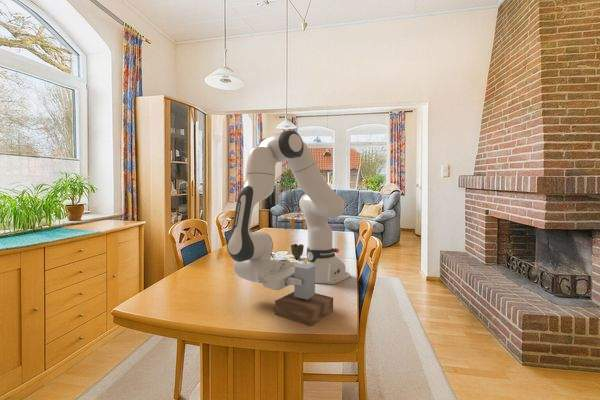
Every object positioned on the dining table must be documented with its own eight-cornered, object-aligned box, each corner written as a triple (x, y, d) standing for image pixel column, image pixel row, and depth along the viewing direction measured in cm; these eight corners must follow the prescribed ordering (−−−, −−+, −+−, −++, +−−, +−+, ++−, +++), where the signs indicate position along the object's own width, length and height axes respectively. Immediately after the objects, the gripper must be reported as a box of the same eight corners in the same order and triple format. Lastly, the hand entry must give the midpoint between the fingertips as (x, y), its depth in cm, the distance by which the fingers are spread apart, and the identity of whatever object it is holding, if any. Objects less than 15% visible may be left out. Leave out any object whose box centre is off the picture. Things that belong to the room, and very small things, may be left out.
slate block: (294, 296, 102) (294, 266, 102) (302, 292, 107) (302, 263, 106) (307, 299, 100) (308, 268, 99) (314, 294, 104) (315, 265, 103)
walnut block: (299, 302, 113) (299, 289, 113) (333, 312, 105) (333, 297, 105) (274, 315, 102) (274, 300, 101) (310, 327, 94) (311, 311, 93)
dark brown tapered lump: (305, 257, 179) (305, 244, 179) (301, 260, 172) (301, 246, 172) (292, 256, 181) (292, 243, 181) (288, 259, 174) (289, 245, 174)
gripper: (254, 271, 100) (290, 278, 93) (288, 258, 118) (321, 263, 111) (254, 290, 101) (290, 299, 94) (288, 274, 118) (320, 281, 111)
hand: (307, 279), depth 102 cm, fingers closed on slate block, 5 cm apart
